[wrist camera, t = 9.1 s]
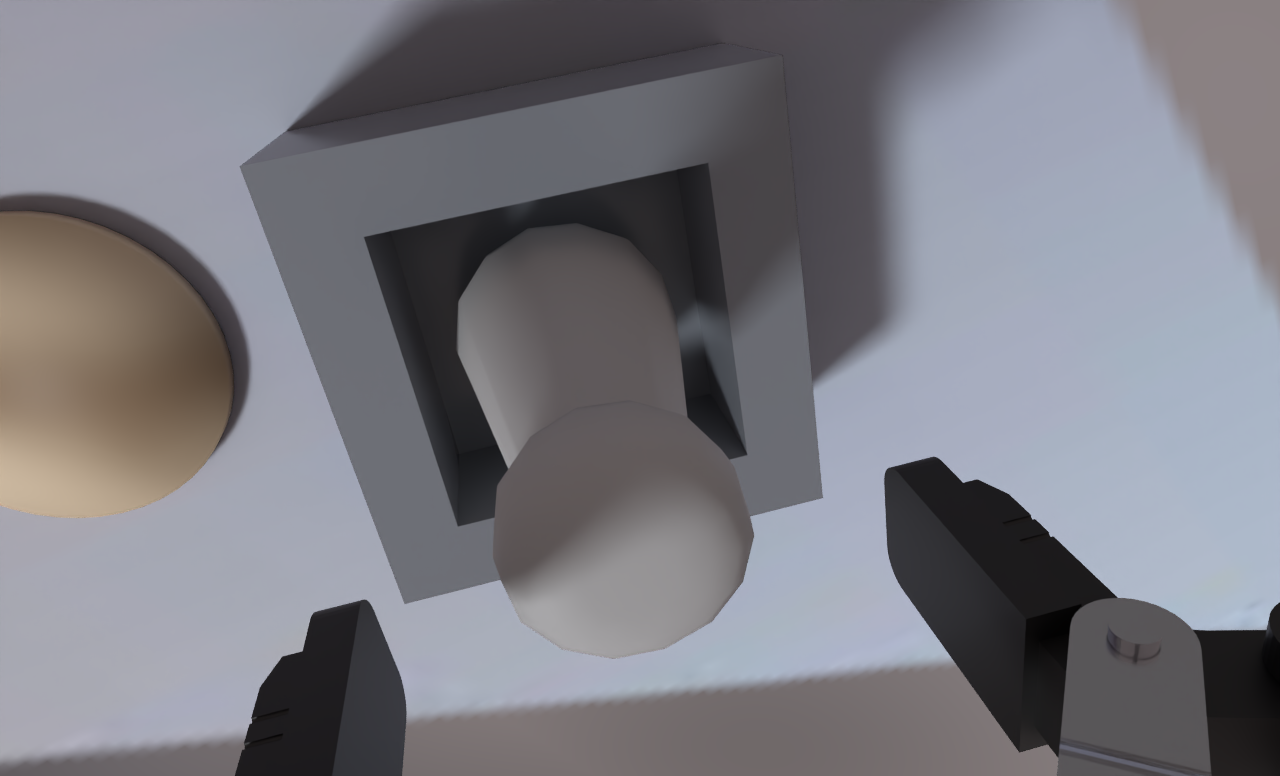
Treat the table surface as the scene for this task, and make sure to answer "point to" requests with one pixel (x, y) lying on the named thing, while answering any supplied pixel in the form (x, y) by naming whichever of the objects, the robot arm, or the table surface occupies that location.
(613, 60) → the table surface
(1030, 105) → the table surface
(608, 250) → the salt shaker
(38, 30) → the table surface
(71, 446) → the cork coaster
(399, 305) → the well
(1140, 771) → the robot arm
